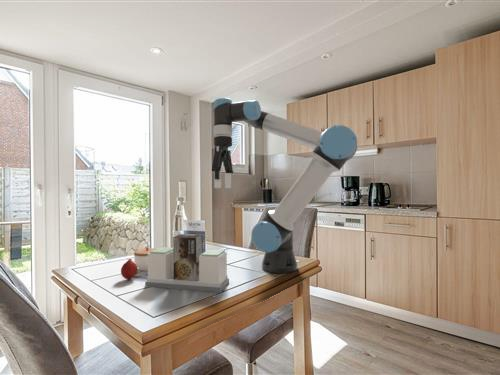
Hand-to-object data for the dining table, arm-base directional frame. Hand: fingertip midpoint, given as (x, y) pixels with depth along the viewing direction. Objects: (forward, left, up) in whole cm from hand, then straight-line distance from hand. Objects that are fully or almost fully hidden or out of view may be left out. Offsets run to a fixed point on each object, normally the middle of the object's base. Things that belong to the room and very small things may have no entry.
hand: (223, 188), depth 116 cm
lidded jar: (+34, +2, -35) cm, 49 cm away
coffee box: (+8, +17, -33) cm, 38 cm away
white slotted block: (+8, +17, -35) cm, 39 cm away
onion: (+32, +17, -35) cm, 50 cm away
